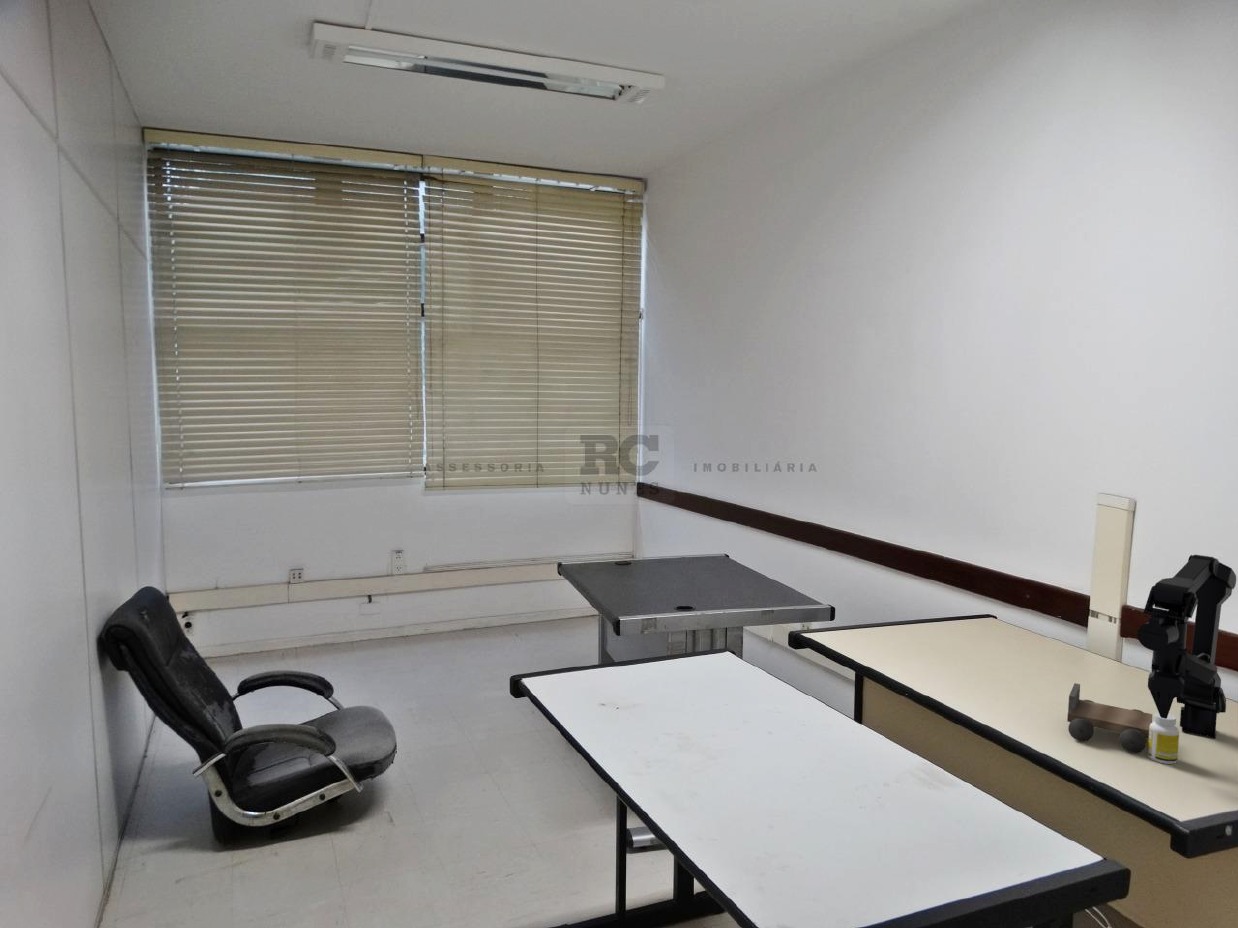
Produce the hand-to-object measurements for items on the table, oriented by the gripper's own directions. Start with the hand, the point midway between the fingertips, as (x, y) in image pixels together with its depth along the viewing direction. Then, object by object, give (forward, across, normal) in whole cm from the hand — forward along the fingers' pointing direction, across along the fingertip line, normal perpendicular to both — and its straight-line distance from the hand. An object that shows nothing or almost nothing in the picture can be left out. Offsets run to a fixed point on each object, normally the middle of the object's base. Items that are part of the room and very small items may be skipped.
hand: (1164, 710), depth 175 cm
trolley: (+11, +7, +10) cm, 17 cm away
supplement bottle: (+11, 0, 0) cm, 11 cm away
